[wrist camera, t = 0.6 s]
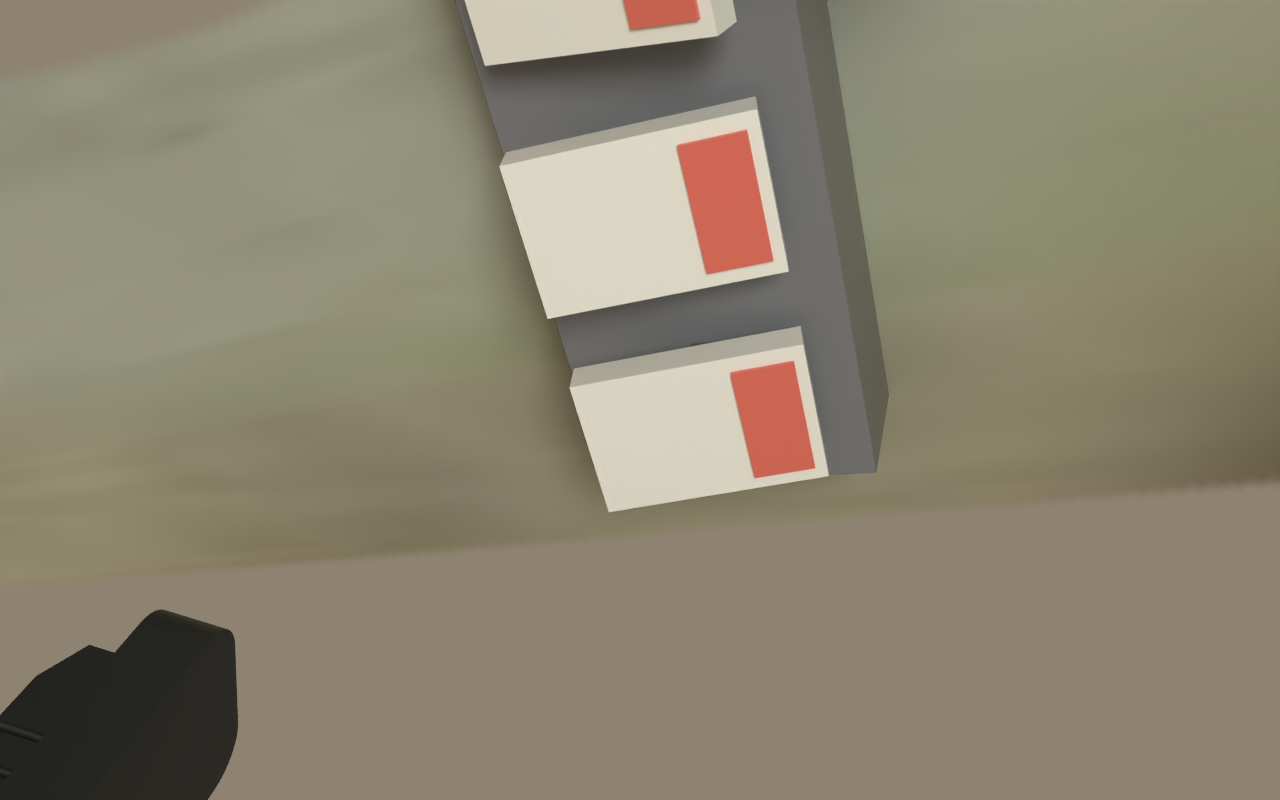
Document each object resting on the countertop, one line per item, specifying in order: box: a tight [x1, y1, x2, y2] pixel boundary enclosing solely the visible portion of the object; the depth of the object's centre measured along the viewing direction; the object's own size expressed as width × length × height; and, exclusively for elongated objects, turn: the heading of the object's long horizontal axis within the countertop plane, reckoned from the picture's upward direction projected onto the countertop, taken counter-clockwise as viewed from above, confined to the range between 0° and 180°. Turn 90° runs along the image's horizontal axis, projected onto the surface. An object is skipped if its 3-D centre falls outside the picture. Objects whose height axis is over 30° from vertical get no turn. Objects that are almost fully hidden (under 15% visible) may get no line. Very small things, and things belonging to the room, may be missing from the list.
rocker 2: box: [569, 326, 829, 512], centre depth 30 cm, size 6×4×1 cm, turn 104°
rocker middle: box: [499, 96, 789, 319], centre depth 27 cm, size 6×4×1 cm, turn 104°
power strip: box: [455, 0, 889, 475], centre depth 30 cm, size 8×18×5 cm, turn 14°
